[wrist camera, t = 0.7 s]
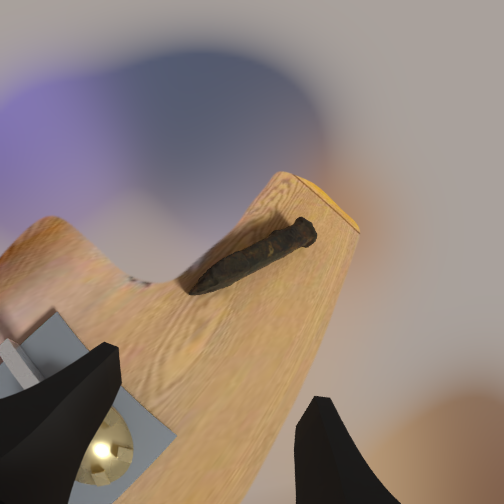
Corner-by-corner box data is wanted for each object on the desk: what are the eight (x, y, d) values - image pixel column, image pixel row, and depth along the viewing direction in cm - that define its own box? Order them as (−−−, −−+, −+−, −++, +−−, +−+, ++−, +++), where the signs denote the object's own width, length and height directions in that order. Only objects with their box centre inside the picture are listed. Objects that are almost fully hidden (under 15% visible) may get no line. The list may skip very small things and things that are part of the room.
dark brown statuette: (290, 226, 42) (309, 209, 39) (305, 249, 42) (325, 234, 38) (175, 274, 31) (186, 256, 27) (193, 306, 30) (206, 293, 27)
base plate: (81, 528, 13) (81, 532, 12) (-37, 407, 13) (-40, 407, 12) (175, 434, 23) (177, 436, 22) (58, 313, 23) (56, 311, 22)
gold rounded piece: (148, 437, 21) (155, 446, 18) (96, 489, 16) (96, 505, 13) (41, 323, 20) (31, 313, 17) (-11, 374, 15) (-28, 370, 12)
